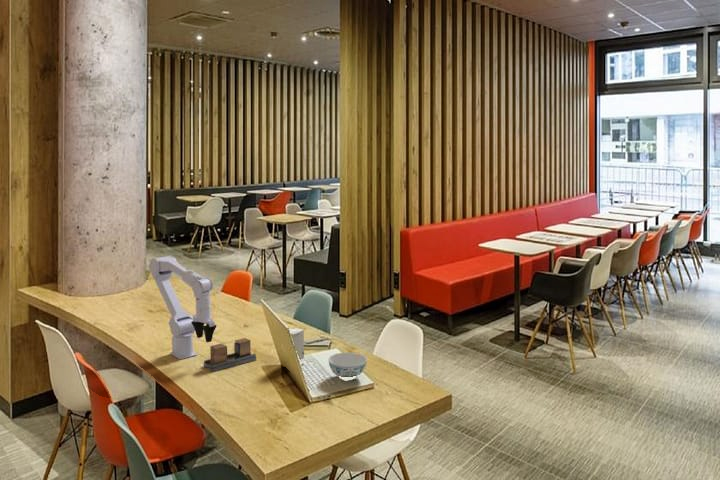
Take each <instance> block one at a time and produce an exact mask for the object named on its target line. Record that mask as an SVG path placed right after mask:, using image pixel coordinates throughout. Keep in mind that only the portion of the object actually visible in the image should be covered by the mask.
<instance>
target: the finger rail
mask: <svg viewBox="0 0 720 480" xmlns="http://www.w3.org/2000/svg"><path fill="white" fill-rule="evenodd" d="M233 345H234V346H233V348H234V349H233V351H234V352H232V353H227V361H225V362H221V363H217V364H212V363H211V358H209V359H205V360H204V361H203V367H204V368H206V369H207V370H209V371H211V372H213V373H214V372H218V371H222V370H226V369H229V368H232V367H237V366H240V365H243V364H247V363H251V362H254V361H257V355H256V353H251V352H252V351H251V346H252V345H251V339H249V338H246V337H244V338H239V339H236V340H234V344H233Z"/></svg>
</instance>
